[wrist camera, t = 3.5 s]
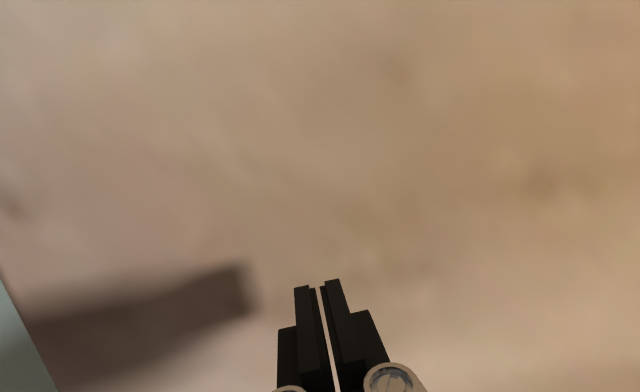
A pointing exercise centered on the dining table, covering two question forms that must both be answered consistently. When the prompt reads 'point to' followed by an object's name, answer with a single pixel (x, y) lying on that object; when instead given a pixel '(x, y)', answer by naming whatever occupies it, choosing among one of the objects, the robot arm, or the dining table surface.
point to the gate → (19, 354)
